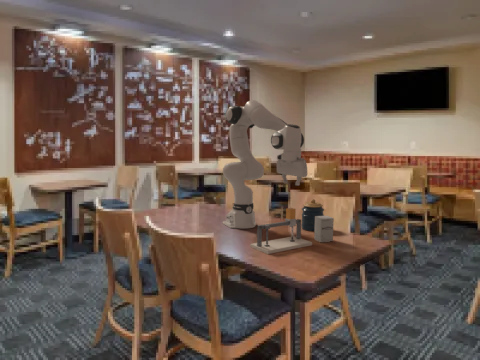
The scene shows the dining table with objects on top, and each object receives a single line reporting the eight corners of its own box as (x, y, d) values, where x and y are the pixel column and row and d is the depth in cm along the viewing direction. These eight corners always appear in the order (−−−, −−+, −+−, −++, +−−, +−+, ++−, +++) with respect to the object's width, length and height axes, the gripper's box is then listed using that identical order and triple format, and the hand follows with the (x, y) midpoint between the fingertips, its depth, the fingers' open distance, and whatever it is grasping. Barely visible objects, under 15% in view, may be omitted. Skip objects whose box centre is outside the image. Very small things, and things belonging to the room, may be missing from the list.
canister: (324, 231, 226) (325, 201, 224) (301, 231, 228) (301, 200, 226) (323, 226, 239) (323, 197, 237) (301, 225, 241) (301, 197, 239)
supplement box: (320, 243, 203) (320, 218, 202) (313, 239, 210) (314, 215, 209) (333, 241, 205) (334, 217, 204) (326, 238, 212) (327, 215, 211)
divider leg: (285, 238, 203) (285, 208, 201) (290, 237, 205) (291, 207, 203) (290, 240, 199) (290, 209, 198) (295, 239, 201) (296, 208, 200)
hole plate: (250, 247, 195) (250, 223, 194) (293, 238, 211) (294, 217, 209) (267, 254, 184) (267, 229, 182) (312, 245, 199) (312, 222, 198)
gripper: (310, 158, 193) (309, 186, 195) (284, 155, 210) (283, 181, 212) (301, 158, 189) (300, 187, 191) (274, 155, 206) (274, 182, 208)
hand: (291, 184), depth 202 cm, fingers open, 8 cm apart
